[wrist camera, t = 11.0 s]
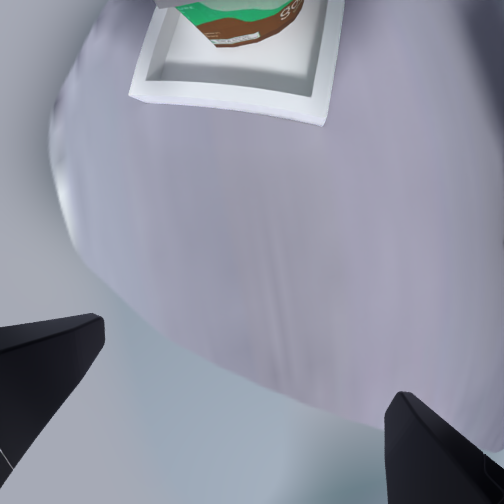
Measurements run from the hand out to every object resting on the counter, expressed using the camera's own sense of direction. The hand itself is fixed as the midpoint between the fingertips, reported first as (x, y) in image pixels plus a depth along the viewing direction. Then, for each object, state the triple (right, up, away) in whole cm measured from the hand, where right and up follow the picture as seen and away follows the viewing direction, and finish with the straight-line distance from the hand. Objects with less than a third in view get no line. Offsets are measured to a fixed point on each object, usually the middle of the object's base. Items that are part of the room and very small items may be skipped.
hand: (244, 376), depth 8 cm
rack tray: (0, +21, +7) cm, 22 cm away
